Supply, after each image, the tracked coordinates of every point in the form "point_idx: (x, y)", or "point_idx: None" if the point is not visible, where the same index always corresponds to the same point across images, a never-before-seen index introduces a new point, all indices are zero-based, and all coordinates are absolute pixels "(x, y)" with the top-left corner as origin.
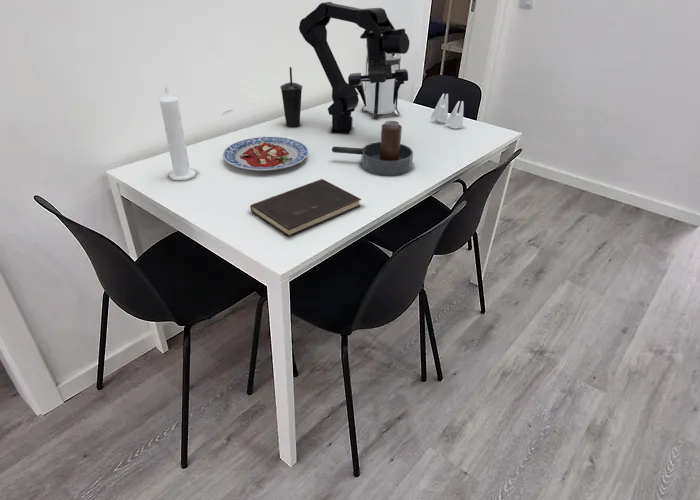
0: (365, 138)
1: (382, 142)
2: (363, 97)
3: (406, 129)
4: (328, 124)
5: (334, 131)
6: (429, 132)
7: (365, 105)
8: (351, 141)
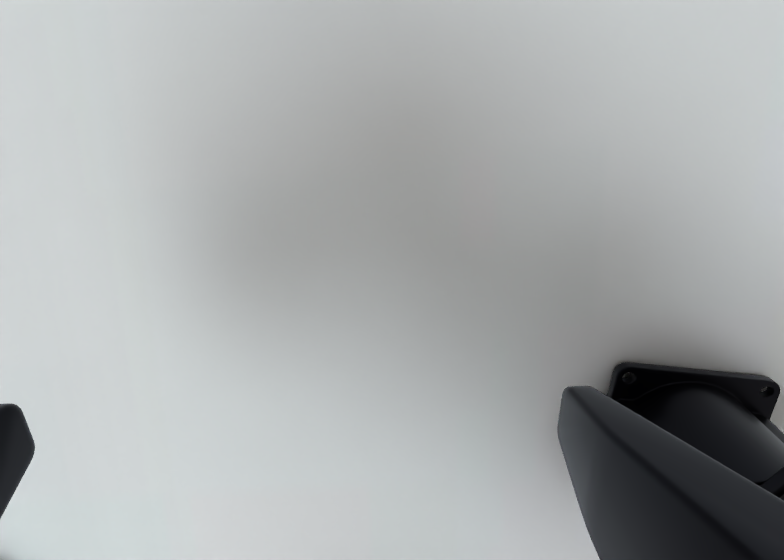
0: (480, 282)
1: None
2: (732, 509)
3: (182, 472)
4: None
5: (751, 379)
6: None
7: (583, 388)
8: (607, 203)
